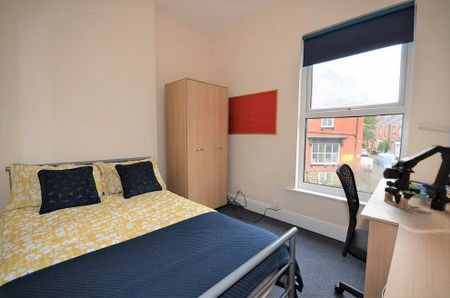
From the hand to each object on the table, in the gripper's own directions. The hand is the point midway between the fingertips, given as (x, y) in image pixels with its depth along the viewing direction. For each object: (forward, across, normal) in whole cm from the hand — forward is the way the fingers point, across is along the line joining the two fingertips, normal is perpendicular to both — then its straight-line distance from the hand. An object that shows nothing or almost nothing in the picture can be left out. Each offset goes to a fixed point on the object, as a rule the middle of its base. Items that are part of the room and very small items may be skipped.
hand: (400, 203), depth 127 cm
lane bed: (+3, -3, 0) cm, 4 cm away
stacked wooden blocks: (+2, 0, -3) cm, 4 cm away
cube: (+1, 0, 0) cm, 1 cm away
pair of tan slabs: (+2, -6, +4) cm, 8 cm away
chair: (+3, -21, -9) cm, 23 cm away
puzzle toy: (+3, -32, -22) cm, 39 cm away
